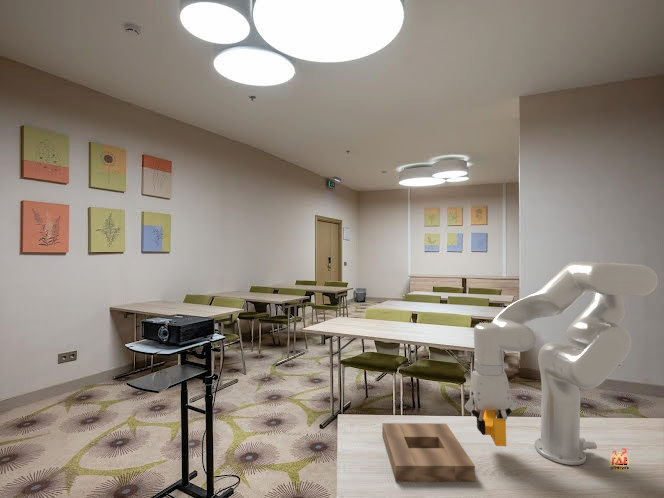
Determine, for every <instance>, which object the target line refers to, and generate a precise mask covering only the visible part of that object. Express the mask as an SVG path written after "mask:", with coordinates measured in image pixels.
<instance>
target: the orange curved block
mask: <svg viewBox="0 0 664 498" xmlns="http://www.w3.org/2000/svg"><path fill="white" fill-rule="evenodd" d="M483 420H484V421H485V435H484V436H491V439H492V440H493V441H492V442H493V443H494V445H495V446H497V447H507V425H506V424H507V423H506V422H505V421H506V420H504V419H500V418H497V414H496V410H485V413H484V417H483Z"/></svg>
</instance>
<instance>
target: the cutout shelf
mask: <svg viewBox="0 0 664 498" xmlns="http://www.w3.org/2000/svg"><path fill="white" fill-rule="evenodd" d="M381 425H382V426H381V427H382V433H381V434H382V435H381V436H382V439H383V444H384V447H385V449H386V453H387V457H388V460H389V463H390V467H391V470H392V473H393V476H394V477H393V478H394V481H395V483H396V482H397V483H398V482H409V483H410V482H415V483H416V482H417V483H418V482H421V483H423V482H427V483H428V482H430V483H431V482H436V483H437V482H441V483H443V482H445V483H446V482H447V483H449V482H454V483H455V482H459V483H460V482H462V483H463V482H466V483H470V482H471V483H473V482H475V479H476V477H475V476H476V475H475V473H476V472H475V471H476V468H475V467H476V465H475V464H474V462H473V461H472V459H471V458H470V457H469V455H468V454H467V452H466V451H465V449H464V447H463V446H462V445H461V443H460V442H459V440H458V439H457V437H456V435H455V434H454V433H453V431H452V429H450V427H449V425H448V424H447V423H436V422H435V423H433V422H432V423H429V422H428V423H417V422H416V423H412V422H411V423H410V422H409V423H408V422H407V423H406V422H405V423H404V422H401V423H397V422H395V423H394V422H393V423H392V422H388V423H387V422H385V423H382V424H381Z"/></svg>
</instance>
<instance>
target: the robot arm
mask: <svg viewBox="0 0 664 498" xmlns="http://www.w3.org/2000/svg"><path fill="white" fill-rule="evenodd" d="M658 283H659V280H658V274H657V273H656V272H655V271H654V269H652V268H651V267H649V266H647V265H644V264H635V263H633V264H632V263H618V262H617V263H616V262H608V263H607V262H595V261H582V260H581V261H571V262H569V263H567V264H566V265H565V266H564V267H562V268H561V269H560V270H559V271H558V272H557V273H556V274H554V276H553V277H552V278H551V279H550V280H549V281H547V282H546V283H544V285H543V286H542V287H541V288H540V289H538V290H537V291H536V292H534V293H531V294H529V295H526V296H525V297H522V298H521V299H518V300H516V301H515V302H513V303H511V304H509V305H508V306H506V307H505V308H504V309H503V310H501V311H500V313H498V314H497V315H496V316H495V317H494V318H493V319H492V321H491V322H481V323H477V324H476V325H475V326H474V328H473V339H474V340H473V342H474V343H473V344H474V345H473V346H474V370H472V373H471V375H470V385H469V399H468V400H467V402H466V403H465V404H464V408H465V410H466V411H467V412H469V413H471V414H472V415H473V416H474V417H475V418H476V428H477V430H478V432H480V433H481V435H482V436H486V435H485V421H484V420H483V417H484V413H485V410H495V411H497V412H498V414H496V418H500V419H504V420H505V422H506V421H507V419H508V417H509V416H510V415H511V413H512V411H514V410H516V408H517V407H518V404H516V402H515V401H514V400H513V398H511V390H510V384H509V383H510V382H509V380H508V379H509V378H508V376H507V373H506V372H505V369H509V364H508V363H507V362H505V361H504V357H505V356H504V352H505V351H506V352H507V351H509V352H510V351H511V352H517V353H518V352H527V351H529V350H531V349H532V348H533V347H534V346H535V344H536V342H537V337H536V336H537V335H536V334H535V332H534V331H533V329H531V328H530V327H529V326H527V325H525V324H526V323H528V322H531V321H532V320H536V319H541V318H548V317H555V316H559V315H562V314H563V313H565V312H566V311H568V309H569V308H570V307H571V306H572V305H573V304H575V302H576V301H578V300H579V299H580V298H581V297H582V296H583V295H584V294H585V293H593V296H592V299H591V301H590V303H589V304H588V305H587V307H585V309H584V310H582V311H581V313H579V315H577V317H576V318H575V319H574V320H573V321H572V322H571V323H570V325H569V326H568V328H567V330H566V339H567V340H568V341H569V343H570V344H572V345H569V344H566V343H564V342H558V341H550V342H547V343H545V344H543V346H541V348H540V349H539V352H538V356H537V359H538V361H537V362H538V367H539V372H540V379H541V380H540V381H541V382H540V383H541V384H540V385H541V400H540V401H541V405H540V418H541V419H540V438H537V439H535V441H534V449H535V450H536V452H538V453H539V454H540V455H541V456H543V457H545V458H546V459H548V460H550V461H553V462H556V463H560V464H563V465H571V466H578V465H583V464H584V463H586V460H587V455H586V453H585V451H586V450H597V449H598V445H597V443H596V442H595V441H587V440H586V438H584V437H581V436H580V435H581V427H580V426H581V392H580V389H583V390H591V389H595V388H597V387H599V386H600V385H601V384H602V383H604V382H605V380H606V379H608V377H610V375H612V373H613V372H614V371H615V370H616V369H617V368H618V367H619V366H620V365H621V363H622V362H623V361H624V360H625V359H626V358H627V357H628V355H629V353H630V352H631V348H632V337H631V334H630V333H629V332H628V331H629V330H627V329H626V328H625V327H623V326H622V325H620V322H621V321H623V319H624V317H625V314H626V307H625V306H626V305H625V303H624V302H625V301H624V297H623V296H630V297H642V296H647V295H649V294H651V293H653V291H655V289H656V288H657V287H658ZM574 346H575V347H574ZM473 406H474V407H475V408H474V407H473Z"/></svg>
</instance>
